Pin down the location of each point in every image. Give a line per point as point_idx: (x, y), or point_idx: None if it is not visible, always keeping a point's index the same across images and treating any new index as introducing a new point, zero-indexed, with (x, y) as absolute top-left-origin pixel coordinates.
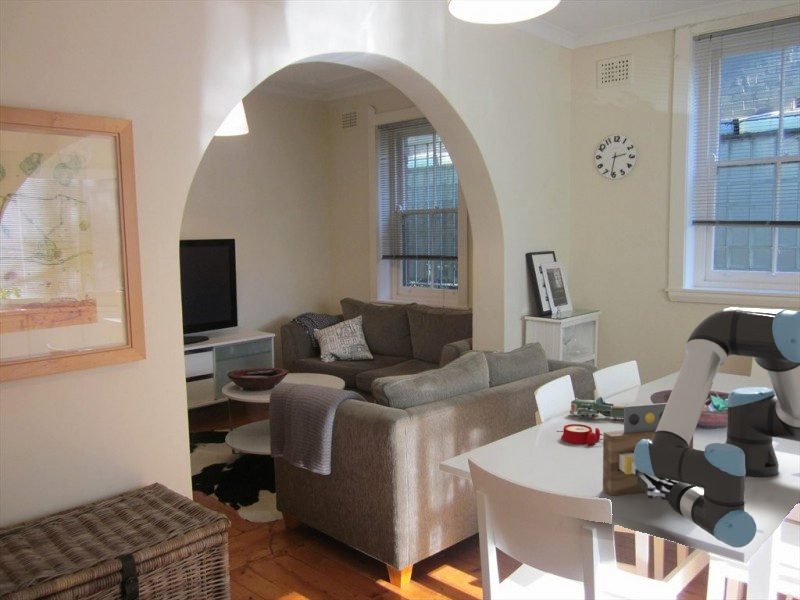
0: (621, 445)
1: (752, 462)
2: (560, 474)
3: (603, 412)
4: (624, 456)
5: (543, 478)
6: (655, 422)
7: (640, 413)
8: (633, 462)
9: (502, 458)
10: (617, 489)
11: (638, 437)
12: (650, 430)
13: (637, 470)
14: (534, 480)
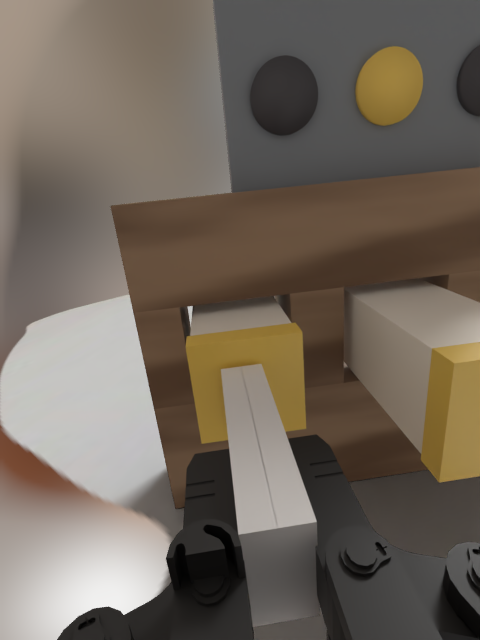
0: (195, 263)
1: None
2: (134, 370)
3: None
4: (197, 330)
5: (70, 386)
6: (425, 121)
7: (326, 54)
8: (229, 375)
9: (80, 325)
10: None
11: (305, 209)
12: (392, 174)
13: (196, 478)
14: (34, 394)
